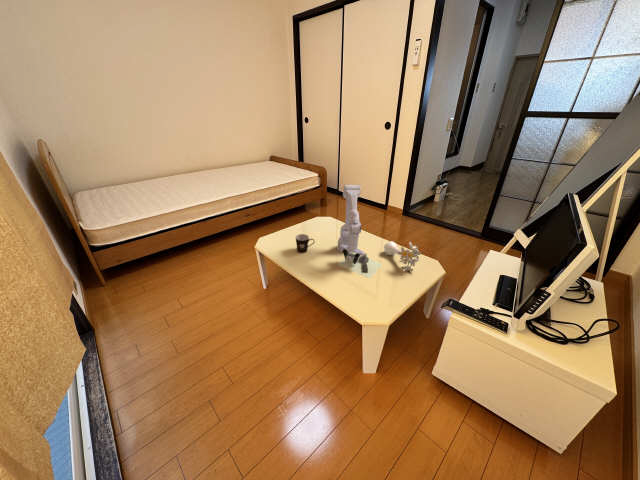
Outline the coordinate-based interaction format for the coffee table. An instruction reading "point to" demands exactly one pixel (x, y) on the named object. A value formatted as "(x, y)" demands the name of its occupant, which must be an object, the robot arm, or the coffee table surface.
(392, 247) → the flower vase
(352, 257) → the socket
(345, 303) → the coffee table surface
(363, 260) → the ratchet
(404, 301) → the coffee table surface
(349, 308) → the coffee table surface
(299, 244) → the coffee mug
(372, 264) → the mat
